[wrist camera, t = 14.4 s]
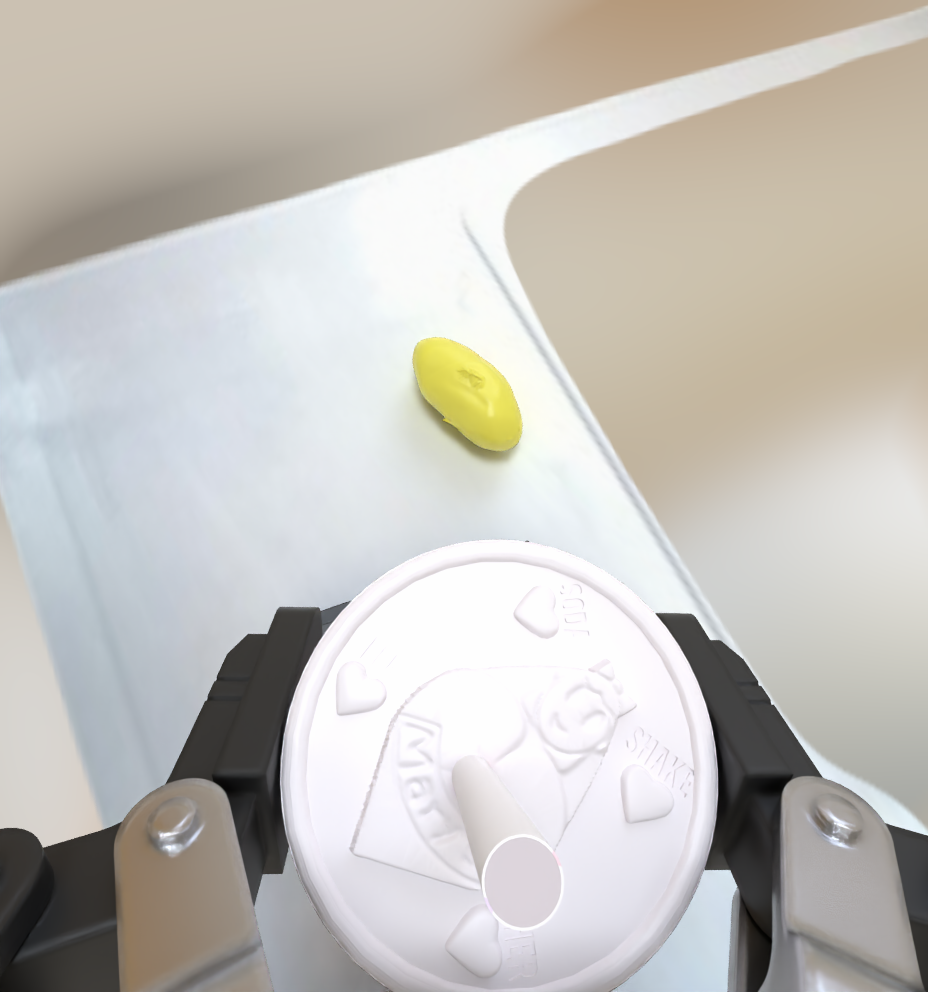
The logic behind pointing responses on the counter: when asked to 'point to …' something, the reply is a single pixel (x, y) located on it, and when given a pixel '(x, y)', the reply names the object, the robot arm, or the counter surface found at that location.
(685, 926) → the counter surface
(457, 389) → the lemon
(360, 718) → the smoothie
